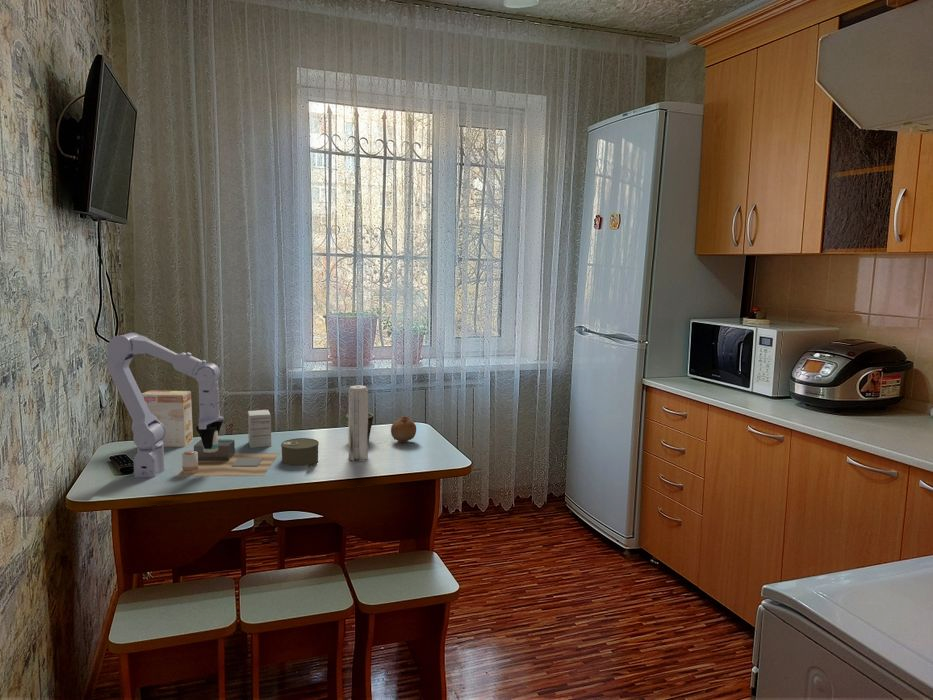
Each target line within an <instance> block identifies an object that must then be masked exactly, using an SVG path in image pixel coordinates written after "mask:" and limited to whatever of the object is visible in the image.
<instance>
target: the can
mask: <svg viewBox="0 0 933 700" xmlns="http://www.w3.org/2000/svg"><path fill="white" fill-rule="evenodd" d="M319 443H320V441H318V440H317V439H314V438H307V437H304V438H303V437H299V438H291V439H287V440H284V441H283V442H281V444H280V447H281V462H282V463H283V464H284V465H287V466H293V467H294V466H298V467H299V466H307V465H308V466H307V468H311V466H312V467H314V465H315V466H317V465H318V464H319ZM317 463H318V464H317Z"/></svg>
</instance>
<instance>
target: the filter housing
mask: <svg viewBox="0 0 933 700" xmlns="http://www.w3.org/2000/svg"><path fill="white" fill-rule="evenodd" d="M235 444H236V443H235V439H231V438H230V439H225V438H223V439H219V438H218V451H216V452H211V453H207V452H203V443H202V439H200V440H199V441H198V442H196V443H195V444H194V445H193V451H197V452H198V461H229V460H230V459H231V458H232V457H233V456H234V455H235V453H236V452H235V451H236V448H235Z"/></svg>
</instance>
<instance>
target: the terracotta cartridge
mask: <svg viewBox="0 0 933 700" xmlns="http://www.w3.org/2000/svg"><path fill="white" fill-rule="evenodd" d="M181 457H182V458H181V460H182V462H181V463H182V470H183V473H184V474H194V473H197V472H198V452H197V451H194V450H187V451H184V452H182V453H181Z"/></svg>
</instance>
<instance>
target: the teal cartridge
mask: <svg viewBox="0 0 933 700" xmlns="http://www.w3.org/2000/svg"><path fill="white" fill-rule="evenodd" d="M218 439H219V435H218V431H217V430H215V432H214V437H213V445H212V448H211V449H204V446H203V452H207V453H211V452H216V451H218Z"/></svg>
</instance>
